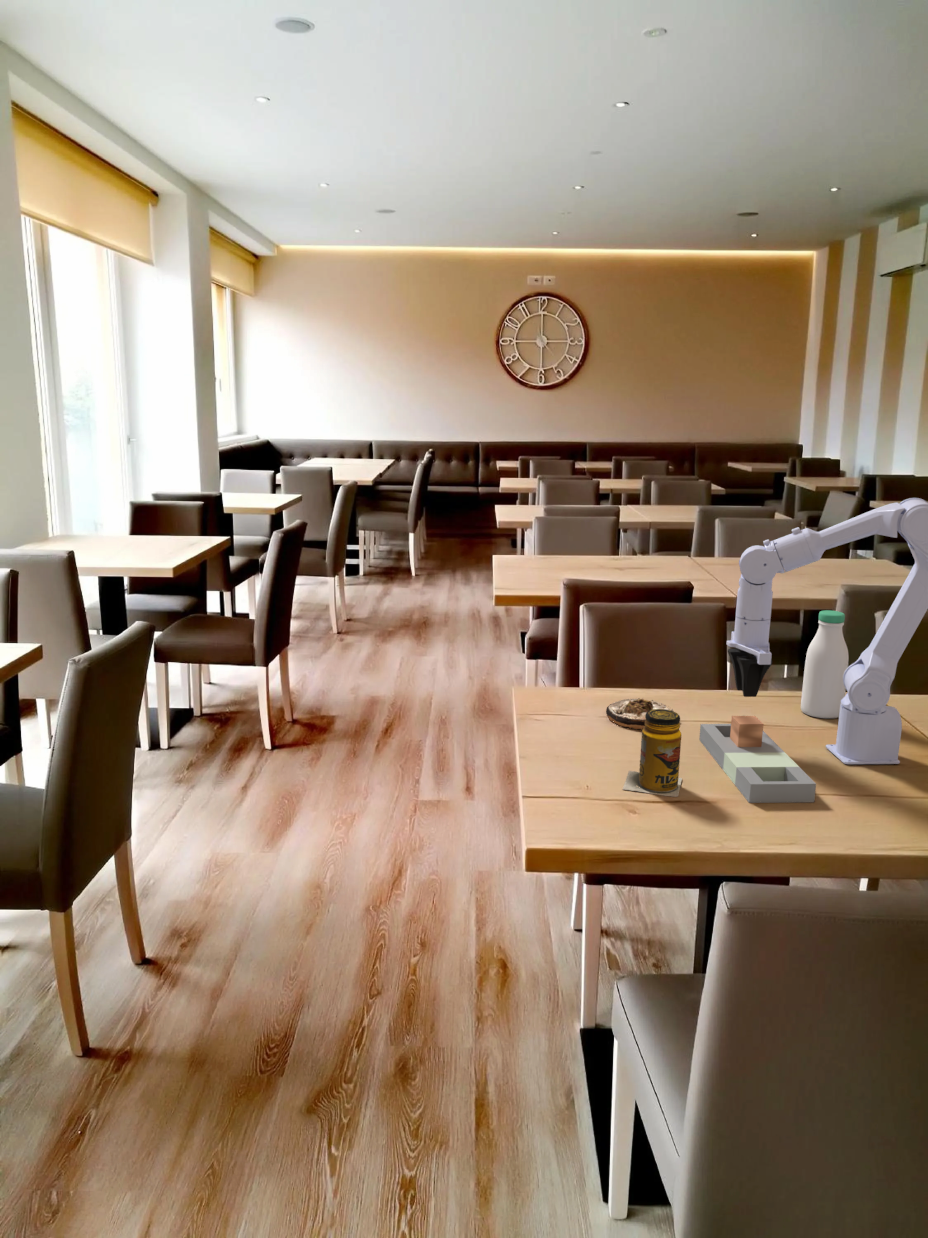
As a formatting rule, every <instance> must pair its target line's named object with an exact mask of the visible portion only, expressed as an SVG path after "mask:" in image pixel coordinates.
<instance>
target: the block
mask: <svg viewBox="0 0 928 1238" xmlns="http://www.w3.org/2000/svg"><path fill="white" fill-rule="evenodd" d="M730 722H731V723H730V724H731V731H730V739H731V740H732V741H733V742H734V743H735V745H736V746H737V747H761V746H762V735H763V731H764V723H763V722H762V721H761V720H760V719H759V718H758V717H757V716H756V715H731V721H730Z"/></svg>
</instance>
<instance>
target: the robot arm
mask: <svg viewBox="0 0 928 1238" xmlns="http://www.w3.org/2000/svg"><path fill="white" fill-rule="evenodd" d="M898 533H899V535H900V536H901V537H902V538H903V539H904V540H905V541H906V544H907V546H908V548H909V550H910V553H911V554H912V557H913V559H914V564H913V566H912V567H911V569H910V570H909V571H910V572H909V573H908V574H907V577H906V578H905V580H904V582H903V584H902V586H901V588H900V589H899V591H898V593H897V595H896V597H895V599H894V600H893V602H892V604H891V606H890V607H889V609H888V611H887V613H886V615H885V617H884V619H883V620H882V622H881V624H880V626H879V628H878V629H877V631H876V634H874V637H873V639H872V640H871V642H870V644H869V645H868V647H866V648H865V650H863V651H862V652H861V653H860V656H859V657H858V659H856V661H854V662H852V663H851V664H850V665H848V668H847V669H846V670H845V672H844V675H843V683H844V686H845V688H846V691H847V692H846V693H845V697H844V698H843V699H842V700H841V704H840V713H839V717H838V724H837V732H836V740H835V744H825V748H826V749H827V750H828V751H830V752H831V754H833V755H834V756H835V757H836V758H838V759H839V760H840V761H841V763H843V764H845V765H894V764H895V765H899V764H900V763H901V760H899V752H900V744H901V737H902V731H903V730H902V728H903V723H902V718H901V717H902V716H901V714H900V712H899V710H898V709H897V708H896V707H894V706H891V705H890V706H889V705H887V704H888V703H889V700H890V697H891V685H892V683H893V681H894V680H895V676H896V672H897V667H898V663H899V661H900V659H901V657H902V655H903V653H904V651H905V650H906V648H907V647H908V644H909V643H910V641H911V639H912V638H913V636H914V634H915V632H916V630H917V628H918V627H919V625H920V624H921V621H922V619H923V618H924V617H925V614H926V612H927V611H928V501H927V500H925V499H922V498H921V497H920V498H919V497H909V498H906V499H903V500H902V501H901V502H893V503H888V504H885V505H882V506H879V507H876V508H874V509H870V510H869V511H866V512H864V513H861V514H859V515H856V516H855V517H854V516H853V517H851V518H849V519H847V520H844V521H842V522H839V523H837V524H834V525H832V526H830V527H827V528H824V529H822V530H819V531H817V530H813V529H811V528H808V527H806V528H802V529H801V528H800V527H798V526H797V527H795V528H792V529H791V533H789V534H786V535H784V536H781V537H778V538H777V539H773V540H770V539H765V540H763V541H762V542H763V545H759V544H758V545H751V546H750V547H747V548H746V549H745V550H744V551H743V552H742V553H741V556H740V558H739V560H738V565H739V571H740V577H739V580H738V586H739V587H738V588H737V593H736V594H737V597H736V608H735V620H734V630H733V631H731V634H730V635H731V636H730V640H726V645H727V646H728V647H730V648H728V649H727V653H728V656H729V658H730V662H731V664H732V667H733V673H734V682H735V687H736V690H737V691H742V695H743V697H745V698H749V697H750V698H751V697H752V698H754V697H757V695H758V693H759V690H760V689H761V688H760V687H761V684H762V681H763V679H764V677H765V675H766V673H767V672H768V670H769V669H770V667H771V666H772V665H773V660H772V655H773V654H772V652H771V651H770V650H771V649H770V642H769V638H770V627H771V619H772V618H771V617H772V606H773V595H774V591H773V590H772V588H773V580H774V578H775V577H776V574H785V573H787V572H791V571H793V570H796V569H799V568H801V567H804V566H807V565H809V564H810V565H811V564H812V563H816V562H818V561H820V560H821V558H822V556H823V554H824V552H826V550H830V549H833V548H836V547H838V546H842V545H846V544H848V543H851V542H855V541H858V540H861V539H865V538H868V537H871V536H874V535H879V536H885V537H890V538H896V539H897V538H898Z"/></svg>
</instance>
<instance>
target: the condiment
mask: <svg viewBox="0 0 928 1238" xmlns="http://www.w3.org/2000/svg"><path fill="white" fill-rule="evenodd" d="M671 710H672V709H670V710H666V709H654V710H650V711H648V712H647V713H646V715H645V718H646V721H645V727H644V728H643V730H641V740H640V755H639V756H640V757H639V758H640V759H639V771H636V770H634V771H633V770H628V773H627V776H626V778H625V781H624V784H623V786H622V790H626V791H630V792H631V791H632V792H634V791H635V792H640V793H646V794H647V793H648V794H652V795H657V796H658V795H659V796H666V797H667V796H668V797H673V798H674V797H679V794H680V793H679V792H680V790H681V784H682V779H683V778H682V777H679V775H680V774H679V773H680V762H681V761H680V760H681V744H682V732H681V730H680V727H681V726H680V725H681V716H680V714H679V713H677V712H676V711H674V710H673V711H674V712H673V711H671Z"/></svg>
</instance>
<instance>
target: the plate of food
mask: <svg viewBox="0 0 928 1238" xmlns="http://www.w3.org/2000/svg"><path fill="white" fill-rule="evenodd" d="M654 709H666V710H671V711H673V712H675V711H674V709H673V708H672V709H671V708H670V706H669V705H668V707H667V705H666V704H664V703H662V702H659V701H656V700H653V699H651V700H648V699H644V698H640V697H639V698H625V699H622V700H621V699H620V700H618V701H615V702H612V703H611V704H609V705H608V706H607V707H606V709H605V713H606V716H607V717H608V719H609V720H610V722H612V721H614V722H613V724H614V723H615V724H616V726H617V725H618V727H620V726H622V727H621V728H624V729H627V728H629V729H630V730H636V731H642V730H643V728H644V727H645V721H646V718H645V715H646V713H647V712H648V711H650V710H654ZM615 724H614V725H615ZM629 729H628V730H629Z"/></svg>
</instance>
